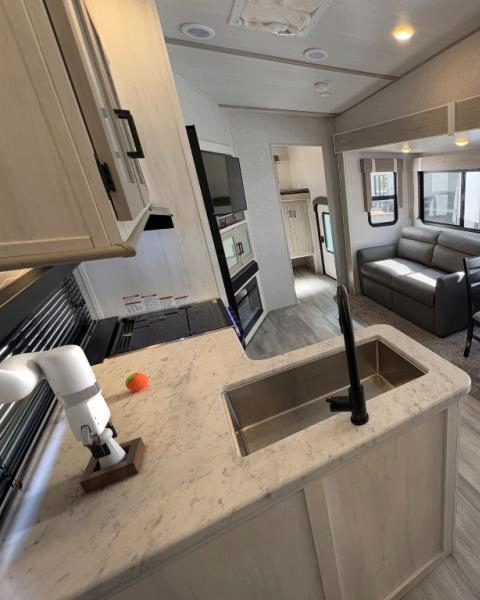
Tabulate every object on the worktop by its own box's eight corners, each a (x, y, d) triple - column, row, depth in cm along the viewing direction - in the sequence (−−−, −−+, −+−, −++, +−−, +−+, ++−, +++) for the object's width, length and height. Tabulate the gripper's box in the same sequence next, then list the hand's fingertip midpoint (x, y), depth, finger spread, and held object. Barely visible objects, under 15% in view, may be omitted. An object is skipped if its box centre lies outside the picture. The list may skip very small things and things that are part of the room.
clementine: (139, 396, 118) (132, 380, 116) (121, 396, 119) (114, 381, 116) (155, 383, 126) (149, 368, 123) (138, 384, 126) (132, 369, 124)
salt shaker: (134, 465, 87) (117, 428, 83) (109, 481, 83) (89, 443, 78) (126, 457, 90) (108, 421, 86) (101, 472, 85) (81, 435, 81)
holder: (85, 493, 79) (79, 482, 78) (98, 464, 88) (92, 453, 87) (138, 473, 84) (133, 462, 83) (145, 446, 93) (140, 436, 92)
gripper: (72, 381, 83) (98, 433, 89) (43, 418, 69) (77, 477, 75) (108, 372, 86) (131, 422, 92) (88, 405, 72) (117, 463, 78)
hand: (107, 446), depth 84 cm, fingers open, 6 cm apart
